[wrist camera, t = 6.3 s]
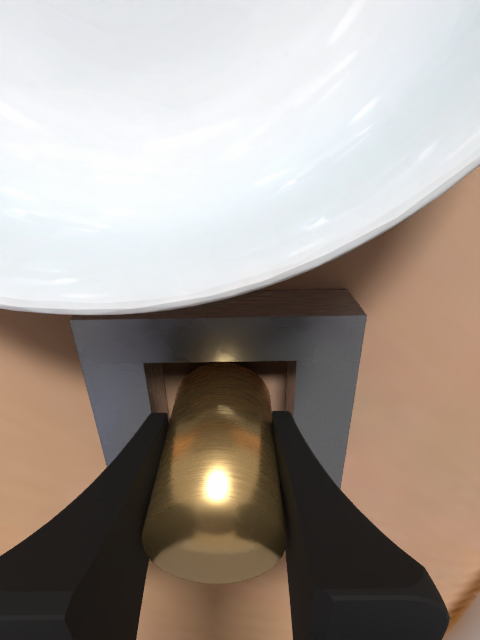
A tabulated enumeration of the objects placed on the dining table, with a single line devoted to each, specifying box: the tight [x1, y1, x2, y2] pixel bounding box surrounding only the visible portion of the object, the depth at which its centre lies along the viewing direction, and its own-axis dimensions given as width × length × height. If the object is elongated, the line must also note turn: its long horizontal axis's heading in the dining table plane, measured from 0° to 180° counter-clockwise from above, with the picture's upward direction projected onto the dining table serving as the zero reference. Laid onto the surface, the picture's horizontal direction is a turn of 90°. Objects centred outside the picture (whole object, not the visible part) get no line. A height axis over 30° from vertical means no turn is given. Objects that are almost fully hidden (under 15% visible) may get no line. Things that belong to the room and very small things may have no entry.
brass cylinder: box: [142, 363, 286, 584], centre depth 13 cm, size 4×4×6 cm
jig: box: [69, 289, 367, 488], centre depth 15 cm, size 9×10×2 cm
